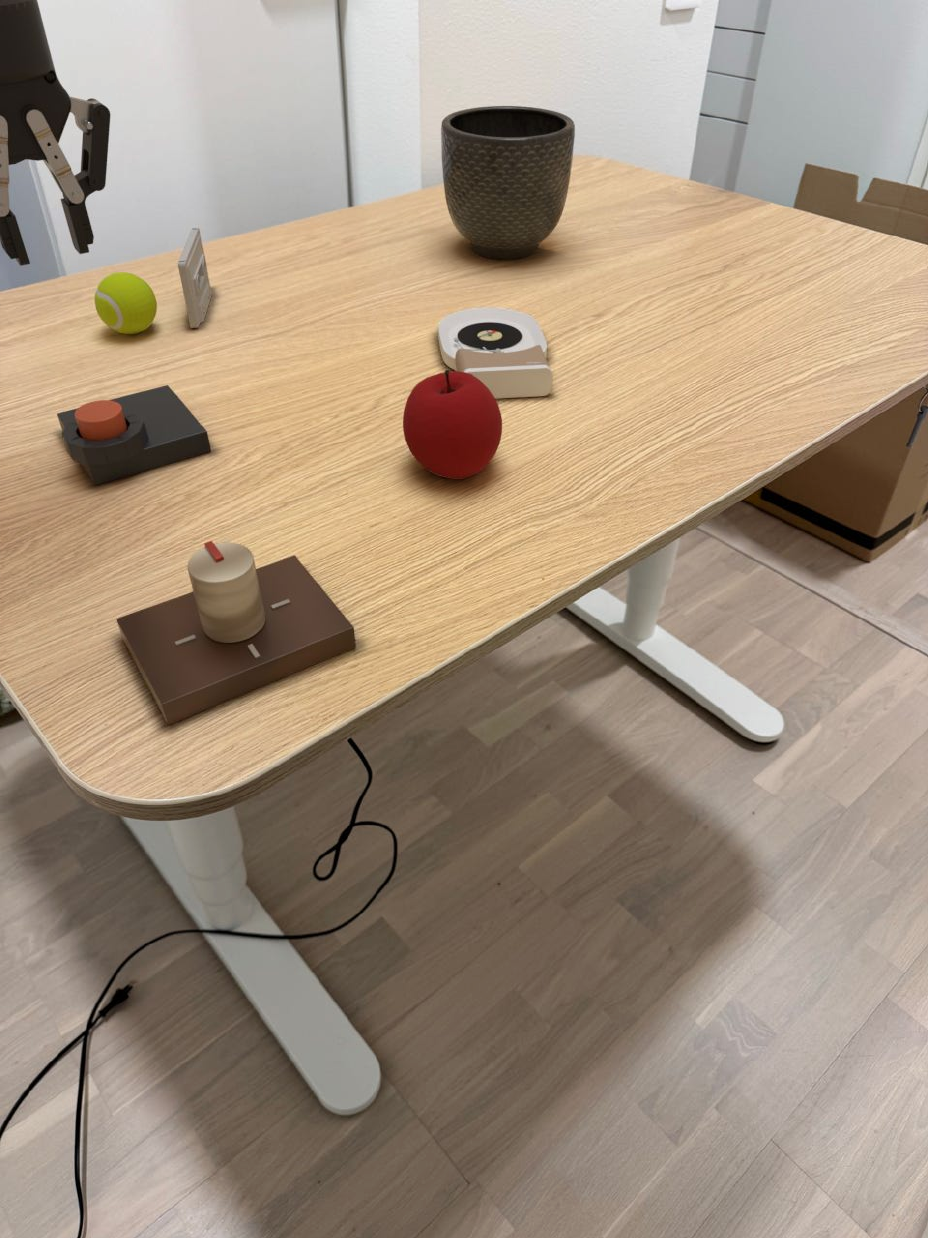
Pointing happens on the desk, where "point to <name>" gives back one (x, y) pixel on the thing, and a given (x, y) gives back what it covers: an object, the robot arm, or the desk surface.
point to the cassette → (194, 278)
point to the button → (100, 420)
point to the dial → (227, 591)
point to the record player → (497, 350)
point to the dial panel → (215, 671)
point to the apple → (452, 424)
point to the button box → (138, 437)
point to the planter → (506, 176)
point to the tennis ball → (125, 303)
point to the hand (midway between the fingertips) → (52, 255)
